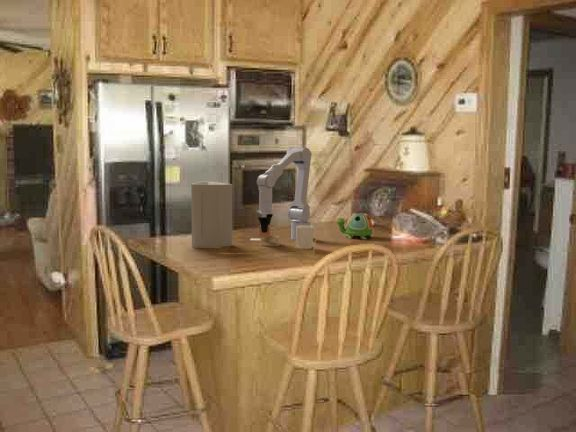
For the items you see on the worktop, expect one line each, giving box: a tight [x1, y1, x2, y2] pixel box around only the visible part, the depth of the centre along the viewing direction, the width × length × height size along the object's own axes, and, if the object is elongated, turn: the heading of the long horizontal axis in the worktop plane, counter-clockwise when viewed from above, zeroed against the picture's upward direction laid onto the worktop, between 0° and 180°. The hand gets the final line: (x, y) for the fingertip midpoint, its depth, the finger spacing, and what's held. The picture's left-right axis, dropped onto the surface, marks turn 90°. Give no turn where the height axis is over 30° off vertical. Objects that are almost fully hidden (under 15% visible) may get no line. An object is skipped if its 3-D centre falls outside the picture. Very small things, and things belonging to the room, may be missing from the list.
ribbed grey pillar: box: [190, 181, 233, 249], centre depth 267 cm, size 19×15×28 cm
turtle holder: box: [336, 212, 374, 240], centre depth 295 cm, size 12×18×12 cm
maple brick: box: [259, 235, 280, 247], centre depth 270 cm, size 8×5×4 cm, turn 86°
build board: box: [249, 237, 280, 247], centre depth 276 cm, size 18×19×1 cm
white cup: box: [295, 225, 315, 250], centre depth 263 cm, size 8×8×10 cm
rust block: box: [259, 224, 271, 238], centre depth 269 cm, size 4×4×5 cm
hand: (265, 231), depth 269 cm, fingers open, 7 cm apart
